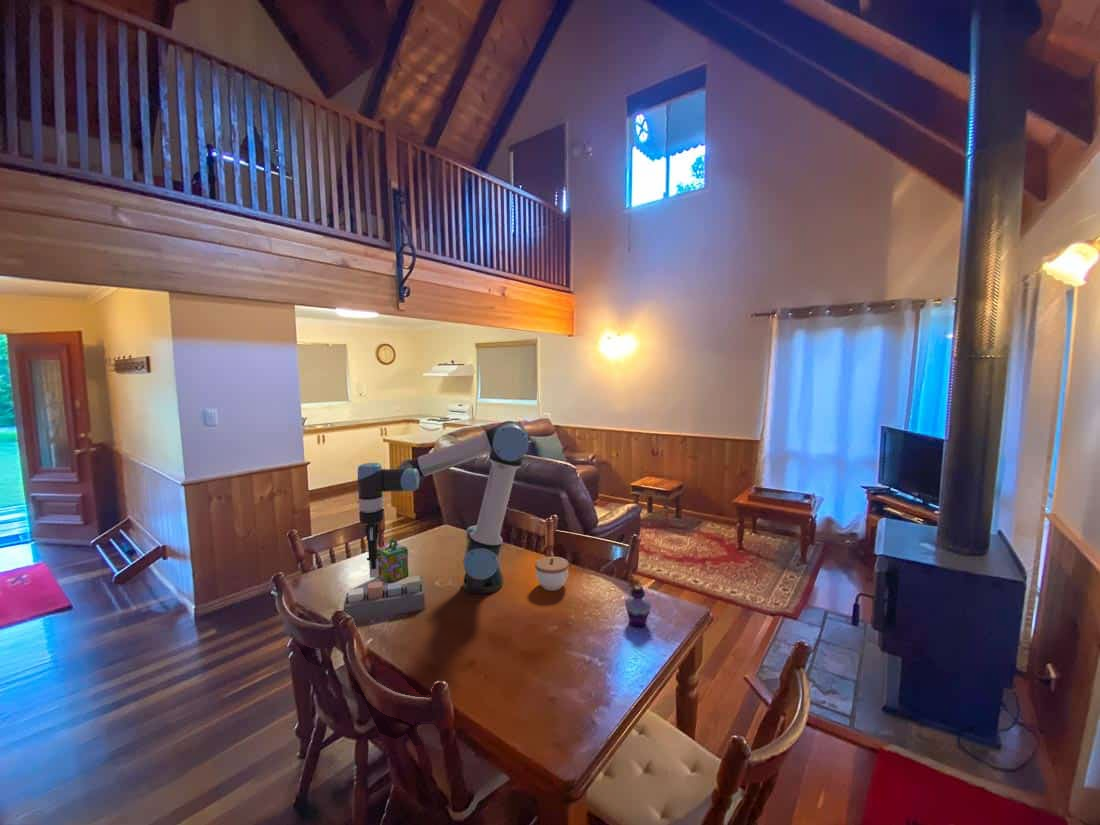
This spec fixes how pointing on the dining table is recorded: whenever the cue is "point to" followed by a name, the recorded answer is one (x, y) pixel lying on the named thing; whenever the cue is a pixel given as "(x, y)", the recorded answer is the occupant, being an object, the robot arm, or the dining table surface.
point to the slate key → (394, 589)
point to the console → (385, 604)
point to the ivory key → (356, 595)
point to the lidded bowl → (552, 572)
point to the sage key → (413, 584)
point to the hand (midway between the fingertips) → (374, 576)
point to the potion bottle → (637, 607)
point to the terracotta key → (375, 590)
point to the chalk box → (392, 562)
